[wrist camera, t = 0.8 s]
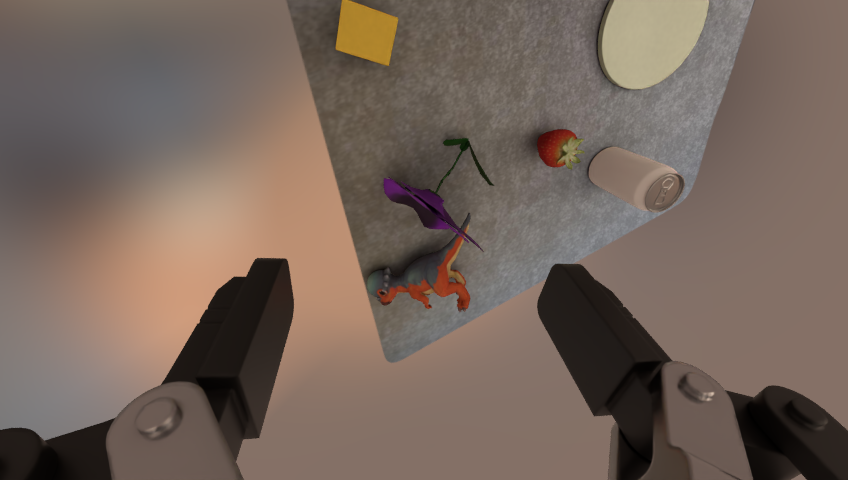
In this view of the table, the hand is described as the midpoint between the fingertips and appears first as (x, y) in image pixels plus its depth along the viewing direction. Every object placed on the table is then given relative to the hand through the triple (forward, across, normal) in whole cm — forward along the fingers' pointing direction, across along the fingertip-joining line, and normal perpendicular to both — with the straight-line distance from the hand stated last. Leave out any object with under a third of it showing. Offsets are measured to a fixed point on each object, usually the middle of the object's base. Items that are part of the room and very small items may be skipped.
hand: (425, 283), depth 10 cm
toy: (+31, -15, +29) cm, 45 cm away
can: (+40, -36, +9) cm, 54 cm away
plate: (+40, -34, -10) cm, 54 cm away
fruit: (+39, -24, +6) cm, 46 cm away
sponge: (+38, +3, -5) cm, 38 cm away
